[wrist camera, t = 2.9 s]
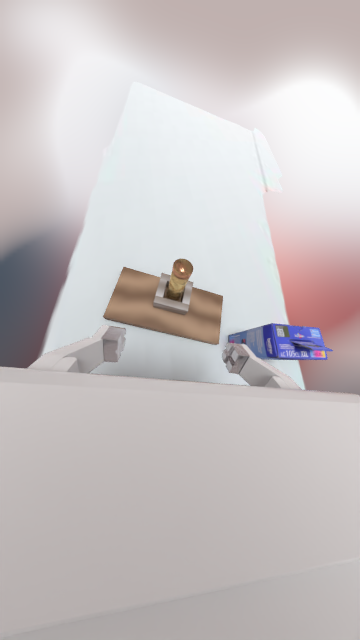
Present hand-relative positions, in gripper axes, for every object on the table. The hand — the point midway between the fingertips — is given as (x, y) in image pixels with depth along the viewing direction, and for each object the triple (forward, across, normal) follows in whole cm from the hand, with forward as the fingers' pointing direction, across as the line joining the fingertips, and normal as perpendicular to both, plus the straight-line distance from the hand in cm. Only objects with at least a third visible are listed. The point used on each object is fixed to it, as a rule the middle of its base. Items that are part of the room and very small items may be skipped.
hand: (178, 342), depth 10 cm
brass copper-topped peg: (+20, -1, +3) cm, 20 cm away
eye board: (+20, 0, +5) cm, 20 cm away
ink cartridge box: (+15, -20, +10) cm, 27 cm away
